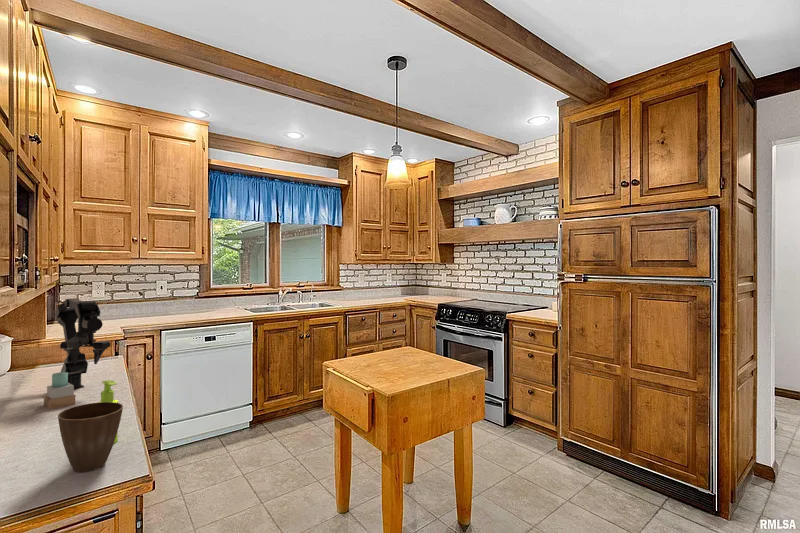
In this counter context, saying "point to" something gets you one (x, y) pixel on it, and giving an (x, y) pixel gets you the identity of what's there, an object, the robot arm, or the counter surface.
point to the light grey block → (60, 391)
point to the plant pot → (89, 433)
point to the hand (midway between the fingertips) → (85, 364)
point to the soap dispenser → (108, 395)
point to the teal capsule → (60, 379)
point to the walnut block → (59, 402)
